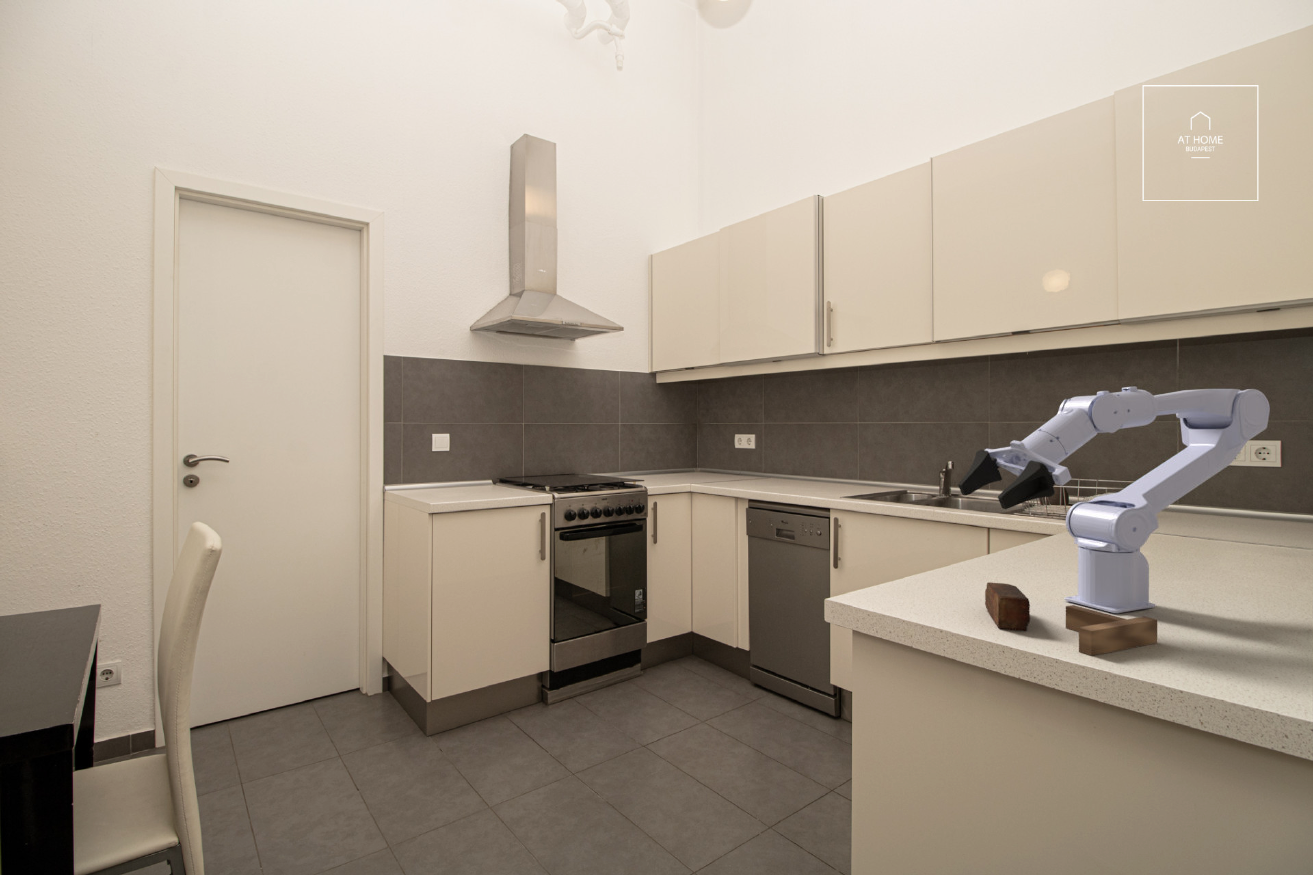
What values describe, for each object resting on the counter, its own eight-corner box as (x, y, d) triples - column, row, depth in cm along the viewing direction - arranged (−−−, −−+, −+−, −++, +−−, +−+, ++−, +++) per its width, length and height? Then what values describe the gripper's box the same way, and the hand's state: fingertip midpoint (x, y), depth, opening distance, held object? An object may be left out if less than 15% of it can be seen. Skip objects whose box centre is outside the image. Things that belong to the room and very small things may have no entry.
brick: (1030, 633, 84) (1031, 598, 84) (997, 630, 86) (998, 596, 86) (1013, 612, 94) (1013, 581, 94) (984, 609, 96) (984, 579, 96)
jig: (1090, 623, 88) (1090, 602, 88) (1157, 642, 80) (1157, 619, 80) (1026, 634, 83) (1026, 611, 83) (1091, 655, 75) (1091, 631, 75)
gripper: (1000, 418, 101) (936, 464, 99) (1084, 432, 87) (1012, 486, 85) (1014, 453, 103) (952, 499, 101) (1098, 473, 89) (1028, 527, 87)
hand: (980, 496), depth 93 cm, fingers open, 7 cm apart
